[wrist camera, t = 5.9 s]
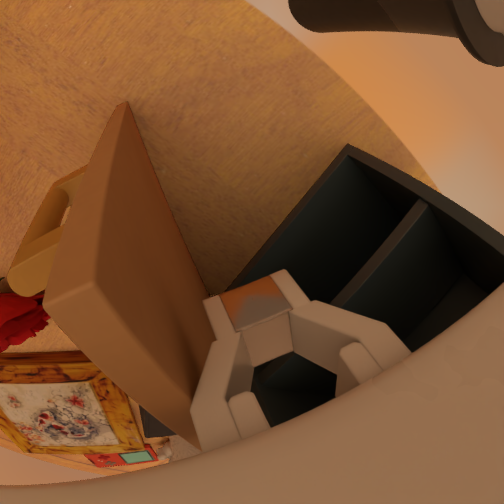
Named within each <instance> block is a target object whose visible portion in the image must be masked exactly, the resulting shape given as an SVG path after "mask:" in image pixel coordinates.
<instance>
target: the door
mask: <svg viewBox="0 0 504 504" xmlns="http://www.w3.org/2000/svg"><path fill="white" fill-rule="evenodd" d="M71 205H72V206H71ZM69 206H71V209H70V211H69V214H68V217H67V220H66V223H65V224H64V225H62V226H60V224H61V221H62V218H63V216H64V213H65V211H66V208H67V207H69ZM7 280H8V284H9V286H10V287H11V289H12V290H13V291H14V292H15V293H17V294H19V295H21V296H25V297H30V296H33V295H35V294H37V293H39V292H41V291H43V290H45V289H46V290H45V294H44V299H43V303H42V305H43V308H44V310H45V311H46V312H47V313H48V315H49V316H50V317H51V318H52V319H53V320H54V322H55V323H56V324H57V325H58V326H59V327H60V328H61V330H62V331H63V332H64V333H65V334H66V335H67V336H68V337H69V338H70V339H71V340H72V342H73V343H74V344H75V345H76V346H77V347H78V348H79V349H80V350H81V351H82V352H83V353H84V354H85V355H86V356H87V357H88V358H89V359H90V360H91V361H92V362H93V363H94V364H95V365H96V366H97V367H98V368H99V369H100V370H101V371H102V372H103V373H104V374H105V375H106V376H108V377H109V378H110V379H111V380H112V381H113V382H114V383H115V384H116V385H117V386H118V387H120V388H121V389H122V390H123V391H124V392H125V393H126V394H127V395H129V396H130V397H131V398H132V399H133V400H134V401H136V402H137V403H138V404H139V405H140V406H142V407H143V408H144V409H145V410H146V411H148V412H149V413H150V414H151V415H153V416H154V417H155V418H156V419H158V420H159V421H160V422H161V423H163V424H164V425H165V426H167V427H168V428H169V429H171V430H172V431H173V432H175V433H176V434H177V435H179V436H180V437H181V438H183V439H184V440H186V441H187V442H188V443H190V444H191V445H193V446H194V447H196V448H197V449H198V450H200V451H201V452H202V449H201V445H200V442H199V439H198V436H197V433H196V430H195V427H194V424H193V420H192V417H191V414H190V407H191V404H192V401H193V398H194V395H195V392H196V389H197V386H198V383H199V380H200V377H201V374H202V371H203V368H204V365H205V362H206V359H207V356H208V353H209V350H210V347H211V344H212V342H214V341H216V340H217V339H216V337H215V334H214V332H213V329H212V327H211V324H210V321H209V319H208V316H207V314H206V311H205V308H204V306H203V302H202V300H205V299H208V298H210V297H209V295H208V293H207V290H206V288H205V286H204V284H203V282H202V280H201V278H200V275H199V273H198V271H197V269H196V267H195V265H194V262H193V260H192V258H191V256H190V254H189V251H188V249H187V247H186V245H185V242H184V240H183V238H182V236H181V233H180V231H179V229H178V226H177V224H176V222H175V220H174V217H173V215H172V213H171V210H170V208H169V205H168V203H167V201H166V198H165V196H164V194H163V191H162V189H161V186H160V184H159V182H158V179H157V177H156V174H155V172H154V169H153V167H152V164H151V162H150V159H149V157H148V154H147V152H146V149H145V147H144V144H143V141H142V139H141V136H140V134H139V131H138V128H137V126H136V123H135V120H134V118H133V115H132V112H131V110H130V107H129V104H128V102H125V103H122V104H120V105H118V106H117V107H116V109H115V110H114V112H113V114H112V116H111V118H110V120H109V122H108V124H107V126H106V128H105V130H104V132H103V134H102V136H101V138H100V140H99V142H98V144H97V146H96V148H95V151H94V153H93V155H92V157H91V159H90V162H89V164H88V165H86V166H84V167H82V168H80V169H78V170H76V171H74V172H72V173H70V174H69V175H67V176H65V177H63V178H61V179H59V180H58V181H56V182H54V184H53V185H52V187H51V188H50V190H49V192H48V193H47V195H46V197H45V199H44V200H43V202H42V204H41V206H40V208H39V209H38V211H37V213H36V215H35V217H34V219H33V221H32V223H31V224H30V226H29V228H28V230H27V232H26V234H25V236H24V238H23V240H22V243H21V245H20V247H19V249H18V251H17V253H16V255H15V258H14V260H13V262H12V264H11V267H10V269H9V271H8V274H7Z"/></svg>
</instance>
